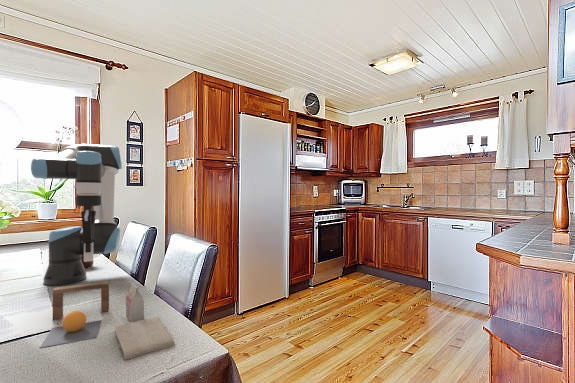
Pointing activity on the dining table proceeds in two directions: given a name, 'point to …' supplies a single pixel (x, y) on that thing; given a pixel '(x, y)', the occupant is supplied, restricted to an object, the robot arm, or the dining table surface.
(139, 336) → the washcloth
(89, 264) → the mug
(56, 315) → the bridge
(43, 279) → the robot arm
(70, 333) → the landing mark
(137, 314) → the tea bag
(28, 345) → the dining table surface
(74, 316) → the ball
